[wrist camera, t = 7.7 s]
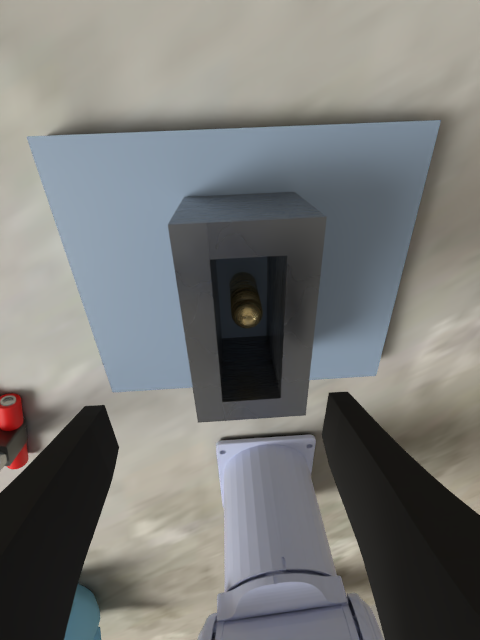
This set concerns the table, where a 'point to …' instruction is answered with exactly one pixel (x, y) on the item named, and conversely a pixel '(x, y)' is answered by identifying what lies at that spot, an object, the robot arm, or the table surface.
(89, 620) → the teapot
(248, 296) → the pin
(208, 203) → the grey slotted block
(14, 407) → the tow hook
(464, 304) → the table surface
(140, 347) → the keeper plate
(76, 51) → the table surface
